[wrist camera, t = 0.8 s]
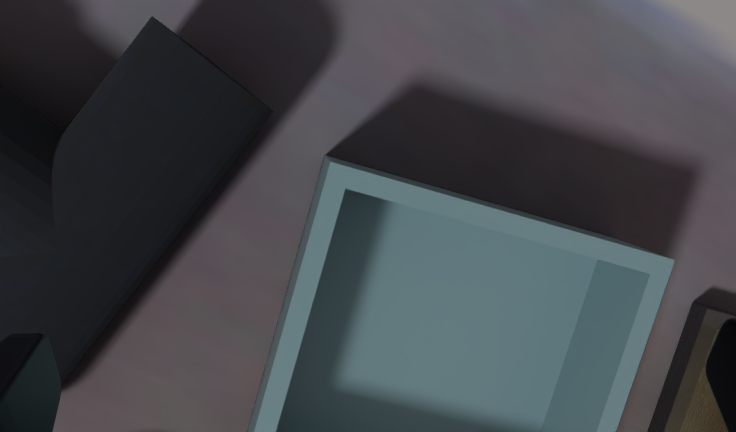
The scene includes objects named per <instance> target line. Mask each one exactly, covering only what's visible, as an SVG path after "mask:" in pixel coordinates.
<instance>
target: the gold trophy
mask: <svg viewBox="0 0 736 432" xmlns="http://www.w3.org/2000/svg"><path fill="white" fill-rule="evenodd" d="M718 332H719V329H716V332H715V335H714V337H713V340H712V343H711V346H710V349H709V352H708V354H707V357H708V355H709V353H710V350H711V348H712V346H713V343H714V341H715V339H716V336H717V334H718ZM707 357H706V360H707ZM706 360H705V363H704V366H703V368H702V371H701V374H700V377H699V380H698V382H697V385H696V388H695V391H694V394H693V397H692V399H691V402H690V405H689V408H688V411H687V413H686V416H685V419H684V422H683V425H682V428H681V430H680V432H728V429H727V427H726V425H725V422H724V420H723V417H722V415H721V412H720V410H719V407H718V405H717V402H716V400H715V397H714V395H713V392H712V390H711V387H710V385H709V382H708V380H707V376H706V369H705V366H706Z"/></svg>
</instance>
